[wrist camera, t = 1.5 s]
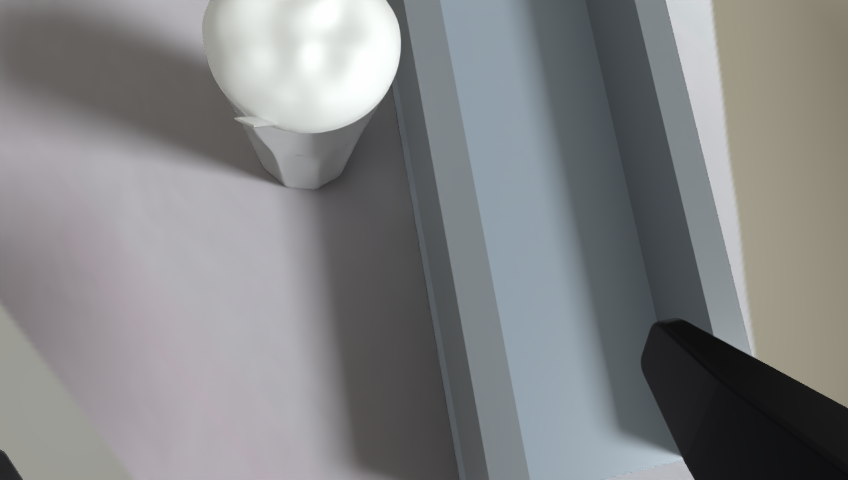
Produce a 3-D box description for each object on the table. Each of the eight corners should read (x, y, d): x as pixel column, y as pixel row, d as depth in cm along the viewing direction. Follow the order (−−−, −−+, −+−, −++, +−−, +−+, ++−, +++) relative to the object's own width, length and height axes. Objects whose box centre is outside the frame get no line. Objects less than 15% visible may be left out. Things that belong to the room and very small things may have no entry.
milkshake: (208, 199, 21) (128, 74, 11) (270, 69, 22) (243, -142, 13) (331, 248, 22) (352, 168, 12) (384, 118, 23) (443, -49, 13)
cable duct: (699, 447, 23) (779, 467, 19) (464, 504, 21) (500, 540, 17) (580, -76, 26) (629, -150, 22) (365, -70, 24) (377, -150, 20)
